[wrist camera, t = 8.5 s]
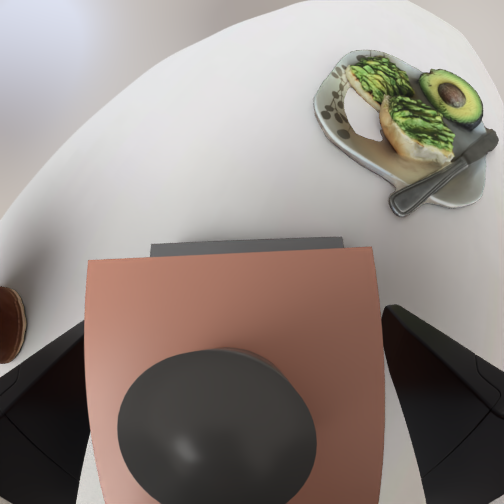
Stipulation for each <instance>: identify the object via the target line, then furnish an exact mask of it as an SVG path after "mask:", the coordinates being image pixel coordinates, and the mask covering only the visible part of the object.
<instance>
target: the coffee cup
mask: <svg viewBox="0 0 504 504" xmlns="http://www.w3.org/2000/svg"><path fill="white" fill-rule="evenodd" d="M25 329H26V318H25V313H24V305H23V304H22V300H21V297H20V296H19V295H18V293H17V292H16V291H15V290H13V289H10V288H7V287H2V286H1V287H0V364H5V363H9V362H11V361H12V360H13V359H14V358H15V357H16V355H17V354H18V352H19V350H20V348H21V345H22V343H23V341H24V334H25Z"/></svg>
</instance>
